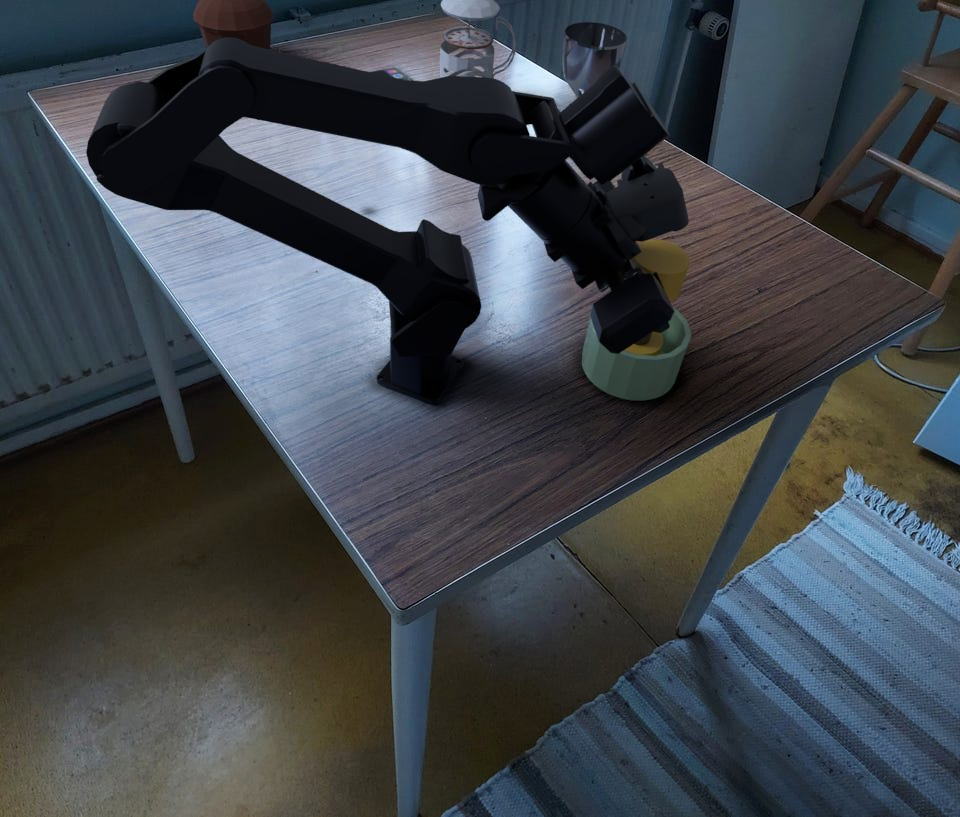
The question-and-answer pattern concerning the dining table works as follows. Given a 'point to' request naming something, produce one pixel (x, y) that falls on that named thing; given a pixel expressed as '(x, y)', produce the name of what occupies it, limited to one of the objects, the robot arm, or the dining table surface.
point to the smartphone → (392, 73)
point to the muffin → (235, 21)
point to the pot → (637, 364)
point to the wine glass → (590, 53)
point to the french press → (471, 39)
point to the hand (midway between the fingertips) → (657, 311)
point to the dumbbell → (671, 272)
